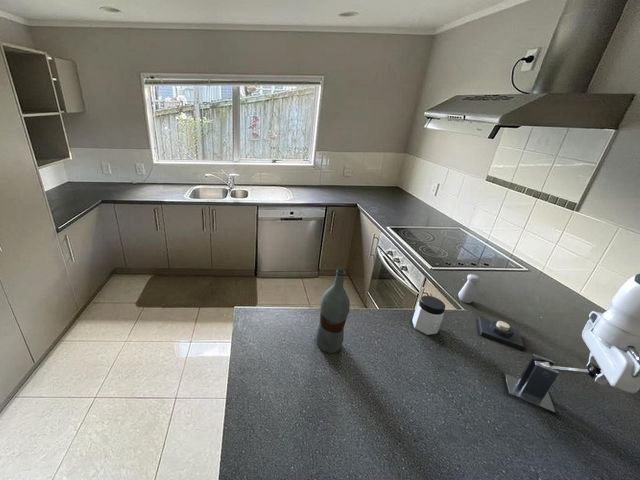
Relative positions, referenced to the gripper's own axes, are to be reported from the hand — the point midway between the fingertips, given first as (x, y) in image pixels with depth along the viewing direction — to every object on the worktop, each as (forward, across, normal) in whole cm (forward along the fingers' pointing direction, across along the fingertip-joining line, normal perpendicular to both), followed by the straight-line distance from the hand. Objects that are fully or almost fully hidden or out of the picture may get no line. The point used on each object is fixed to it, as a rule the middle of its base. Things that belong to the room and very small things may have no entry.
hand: (594, 375), depth 73 cm
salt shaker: (+14, +44, +23) cm, 52 cm away
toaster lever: (+3, 0, +4) cm, 5 cm away
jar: (+14, +14, +37) cm, 42 cm away
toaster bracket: (+14, 0, +9) cm, 17 cm away
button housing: (+14, +26, +13) cm, 32 cm away
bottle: (+14, -16, +65) cm, 69 cm away
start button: (+11, +26, +13) cm, 31 cm away
